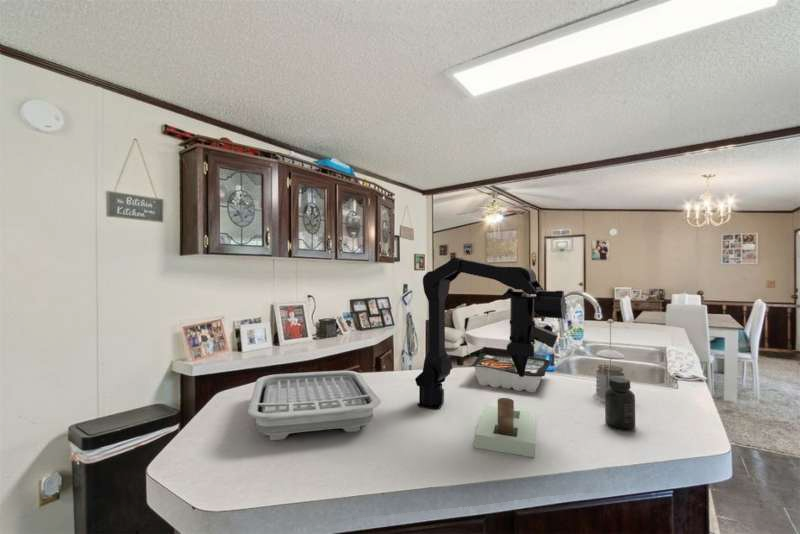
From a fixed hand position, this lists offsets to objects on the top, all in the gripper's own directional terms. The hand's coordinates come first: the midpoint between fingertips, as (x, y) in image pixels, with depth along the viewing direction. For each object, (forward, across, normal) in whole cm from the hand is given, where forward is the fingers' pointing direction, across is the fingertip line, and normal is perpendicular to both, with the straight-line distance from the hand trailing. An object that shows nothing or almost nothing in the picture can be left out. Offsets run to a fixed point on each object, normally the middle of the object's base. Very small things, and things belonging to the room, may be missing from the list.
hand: (521, 376), depth 97 cm
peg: (+13, -11, +3) cm, 17 cm away
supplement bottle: (+13, +10, -24) cm, 29 cm away
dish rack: (+14, -12, +54) cm, 57 cm away
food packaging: (+14, +40, +5) cm, 42 cm away
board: (+13, -6, +3) cm, 14 cm away
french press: (+13, +32, -25) cm, 43 cm away
